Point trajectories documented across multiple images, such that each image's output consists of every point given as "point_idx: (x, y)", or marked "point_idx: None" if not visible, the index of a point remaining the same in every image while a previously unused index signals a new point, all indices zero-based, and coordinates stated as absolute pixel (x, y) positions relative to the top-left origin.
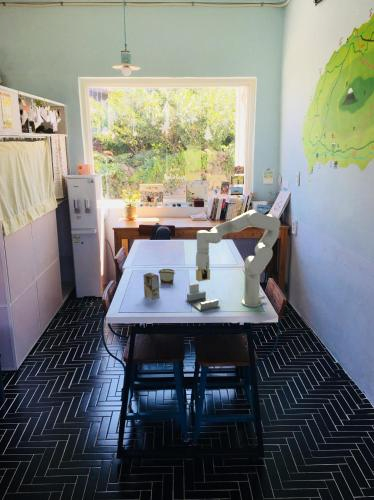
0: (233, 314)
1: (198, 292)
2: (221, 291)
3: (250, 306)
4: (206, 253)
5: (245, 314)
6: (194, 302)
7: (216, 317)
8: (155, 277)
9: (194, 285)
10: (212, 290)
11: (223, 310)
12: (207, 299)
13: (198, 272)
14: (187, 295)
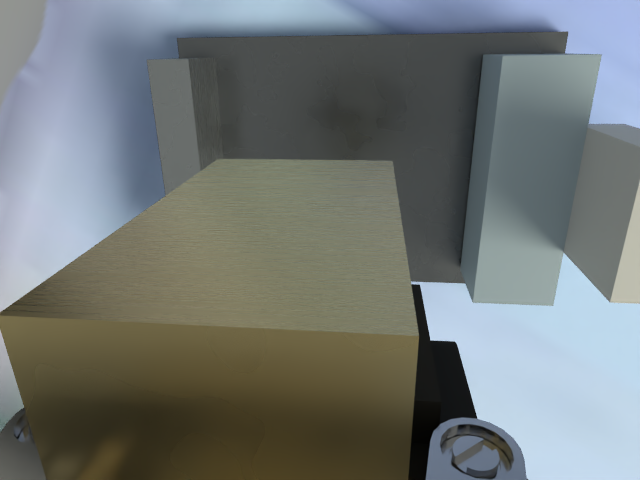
0: (28, 278)
1: (515, 218)
2: (528, 468)
3: None
4: None
5: (3, 351)
6: (416, 88)
7: (6, 115)
8: None
9: (622, 218)
10: (610, 426)
11: None
12: (408, 258)
13: (114, 265)
14: (571, 54)
